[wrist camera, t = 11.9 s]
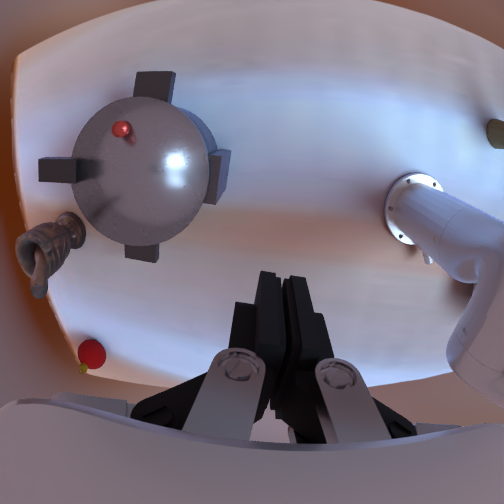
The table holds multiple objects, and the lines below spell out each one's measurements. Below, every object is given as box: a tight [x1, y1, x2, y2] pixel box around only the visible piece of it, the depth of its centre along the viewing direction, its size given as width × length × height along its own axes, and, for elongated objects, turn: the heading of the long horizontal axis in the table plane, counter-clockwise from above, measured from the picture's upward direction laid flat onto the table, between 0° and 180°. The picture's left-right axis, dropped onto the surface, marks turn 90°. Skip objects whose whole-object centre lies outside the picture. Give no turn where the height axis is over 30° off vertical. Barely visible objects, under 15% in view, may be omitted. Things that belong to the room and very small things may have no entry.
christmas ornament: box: [78, 339, 106, 374], centre depth 55 cm, size 7×7×10 cm
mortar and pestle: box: [15, 212, 86, 299], centre depth 39 cm, size 12×9×20 cm
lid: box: [38, 97, 210, 246], centre depth 32 cm, size 24×19×3 cm
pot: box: [125, 71, 231, 263], centre depth 38 cm, size 20×27×10 cm
